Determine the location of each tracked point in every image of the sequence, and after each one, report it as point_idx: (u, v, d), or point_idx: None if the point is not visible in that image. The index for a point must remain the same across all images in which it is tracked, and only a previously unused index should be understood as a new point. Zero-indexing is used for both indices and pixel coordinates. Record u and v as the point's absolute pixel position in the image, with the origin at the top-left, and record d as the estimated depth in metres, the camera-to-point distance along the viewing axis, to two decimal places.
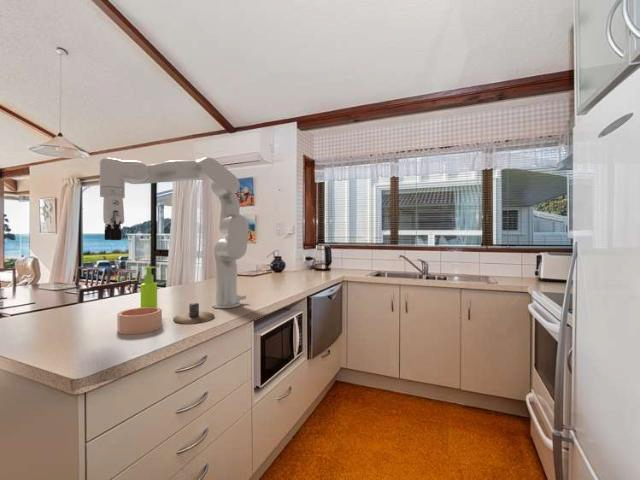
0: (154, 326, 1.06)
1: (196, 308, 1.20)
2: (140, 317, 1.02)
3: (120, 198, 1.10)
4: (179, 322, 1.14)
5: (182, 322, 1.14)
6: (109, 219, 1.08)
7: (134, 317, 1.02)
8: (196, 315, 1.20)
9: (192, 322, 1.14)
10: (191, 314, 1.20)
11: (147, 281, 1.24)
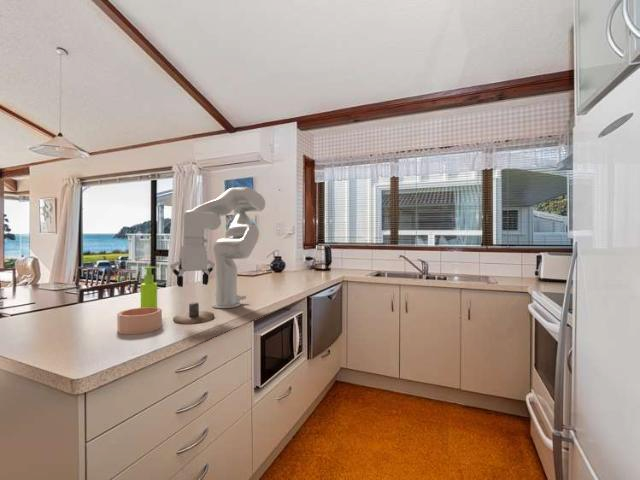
0: (154, 326, 1.06)
1: (196, 308, 1.20)
2: (140, 317, 1.02)
3: None
4: (179, 322, 1.14)
5: (181, 322, 1.14)
6: (206, 266, 1.23)
7: (134, 317, 1.02)
8: (196, 315, 1.20)
9: (191, 322, 1.14)
10: (191, 314, 1.20)
11: (147, 281, 1.24)
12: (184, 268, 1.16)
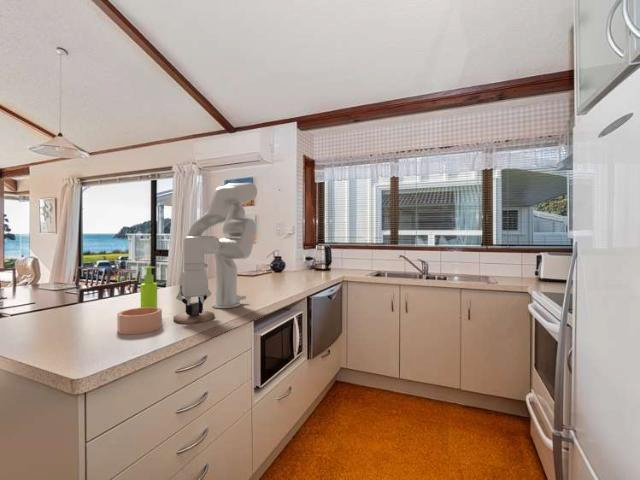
0: (154, 326, 1.06)
1: (196, 307, 1.20)
2: (140, 317, 1.02)
3: None
4: (178, 321, 1.15)
5: (181, 321, 1.14)
6: (207, 291, 1.23)
7: (134, 317, 1.02)
8: (196, 314, 1.20)
9: (190, 321, 1.14)
10: None
11: (147, 281, 1.24)
12: (185, 295, 1.17)
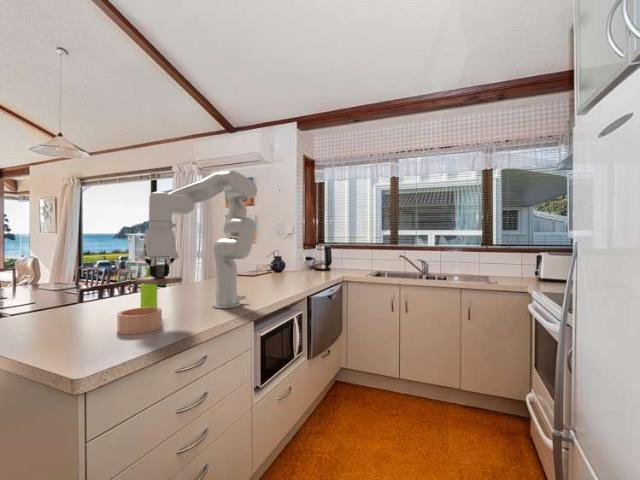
0: (154, 326, 1.06)
1: (161, 269, 1.11)
2: (140, 317, 1.02)
3: None
4: (140, 281, 1.05)
5: (143, 281, 1.05)
6: (175, 253, 1.14)
7: (134, 317, 1.02)
8: (161, 276, 1.11)
9: (153, 281, 1.05)
10: None
11: None
12: (149, 254, 1.08)
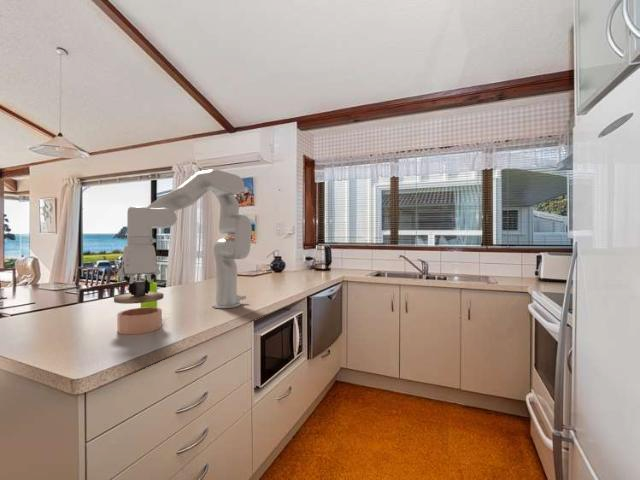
0: (154, 326, 1.06)
1: (141, 286, 1.07)
2: (140, 317, 1.02)
3: None
4: (117, 300, 1.01)
5: (120, 300, 1.01)
6: (155, 269, 1.10)
7: (134, 317, 1.02)
8: (141, 294, 1.07)
9: (131, 301, 1.00)
10: (135, 293, 1.06)
11: None
12: (127, 271, 1.03)
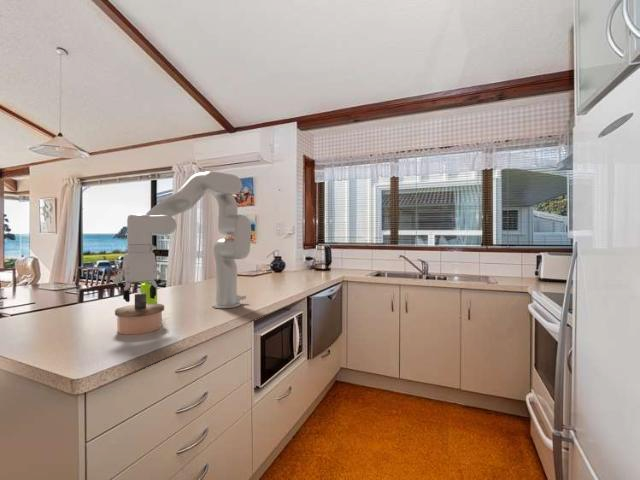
0: (154, 326, 1.06)
1: (142, 299, 1.07)
2: (140, 317, 1.02)
3: None
4: (118, 314, 1.01)
5: (121, 314, 1.01)
6: (156, 276, 1.10)
7: (134, 317, 1.02)
8: (142, 306, 1.07)
9: (132, 314, 1.01)
10: (136, 305, 1.06)
11: (147, 281, 1.24)
12: (127, 279, 1.04)
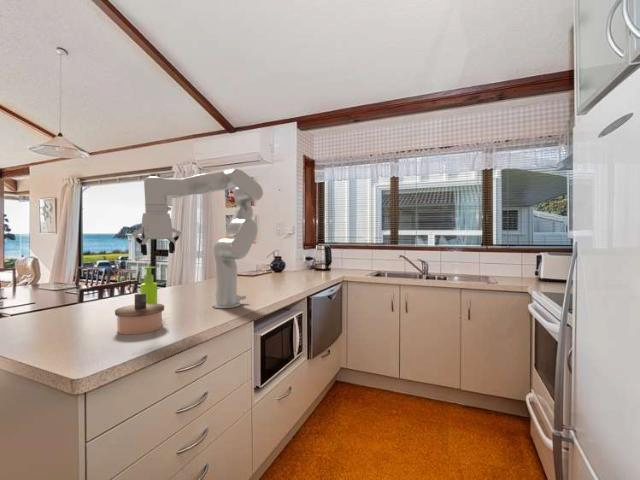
0: (154, 326, 1.06)
1: (142, 299, 1.07)
2: (140, 317, 1.02)
3: None
4: (118, 314, 1.01)
5: (121, 314, 1.01)
6: (172, 234, 1.20)
7: (134, 317, 1.02)
8: (142, 306, 1.07)
9: (132, 314, 1.01)
10: (136, 305, 1.06)
11: (147, 281, 1.24)
12: (147, 236, 1.14)
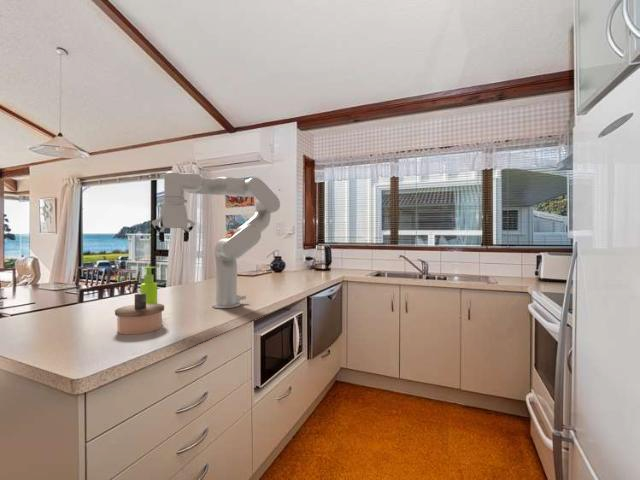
0: (154, 326, 1.06)
1: (142, 299, 1.07)
2: (140, 317, 1.02)
3: None
4: (118, 314, 1.01)
5: (121, 314, 1.01)
6: (186, 224, 1.33)
7: (134, 317, 1.02)
8: (142, 306, 1.07)
9: (132, 314, 1.01)
10: (136, 305, 1.06)
11: (147, 281, 1.24)
12: (165, 224, 1.27)
